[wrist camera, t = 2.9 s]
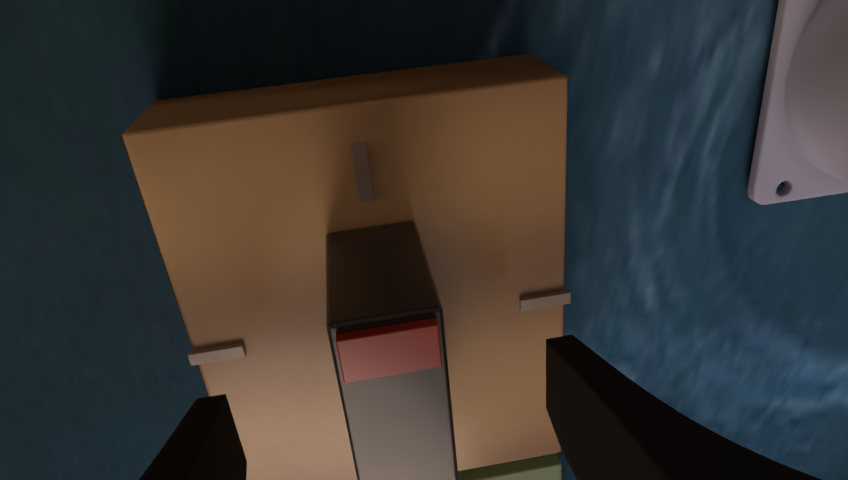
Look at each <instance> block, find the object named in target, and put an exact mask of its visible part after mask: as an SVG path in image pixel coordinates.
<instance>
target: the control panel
mask: <svg viewBox="0 0 848 480" xmlns="http://www.w3.org/2000/svg"><path fill="white" fill-rule="evenodd" d="M567 83H568V79H567V76H566V75H564V74H562V73H561V72H559V71H557V70H555V69H554V68H552V67H550V66H548V65H547V64H545V63H543V62H541V61H540V60H538V59H536V58H534V57H533V56H531V55H529V54H523V55H515V56H507V57H499V58H491V59H483V60H475V61H467V62H459V63H451V64H443V65H435V66H427V67H419V68H411V69H403V70H395V71H387V72H379V73H372V74H364V75H356V76H348V77H340V78H332V79H324V80H316V81H308V82H300V83H292V84H284V85H276V86H268V87H260V88H252V89H244V90H236V91H228V92H220V93H212V94H204V95H196V96H188V97H180V98H172V99H164V100H157V101H155V102H154V103H153V104H152V105H151V106H150V107H149V108H148V109H147V110H146V111H145V112H144V113H143V114H142V115H141V116H140V117H139V118H138V119H137V120H136V121H135V122H134V123H133V124H132V125H131V126H130V127H129V128H128V129H127V130H126V131H125V132H124V133H123V139H124V142H125V145H126V148H127V151H128V154H129V157H130V160H131V163H132V166H133V169H134V172H135V175H136V178H137V181H138V184H139V187H140V190H141V193H142V196H143V199H144V202H145V205H146V208H147V211H148V214H149V217H150V220H151V223H152V226H153V229H154V232H155V235H156V238H157V241H158V244H159V247H160V250H161V253H162V256H163V259H164V262H165V265H166V268H167V271H168V274H169V277H170V280H171V283H172V286H173V289H174V292H175V295H176V298H177V301H178V304H179V307H180V310H181V313H182V316H183V319H184V322H185V325H186V328H187V331H188V334H189V337H190V340H191V343H192V346H193V349H194V351H189V352H188V358H189V361H190V364H191V366H193V365H199V367H200V370H201V373H202V376H203V379H204V382H205V385H206V388H207V391H208V394H209V397H210V396H216V395H222V394H226V397H227V400H228V403H229V406H230V409H231V412H232V416H233V419H234V422H235V425H236V428H237V431H238V435H239V438H240V441H241V444H242V447H243V450H244V454H245V457H246V460H247V476H246V480H357V475H356V471H355V466H354V461H353V456H352V451H351V446H350V441H349V436H348V431H347V426H346V421H345V416H344V411H343V406H342V402H341V397H340V392H339V387H338V382H337V377H336V372H335V367H334V362H333V357H332V352H331V347H330V342H329V338H328V333H327V328H326V234H328V233H332V232H339V231H346V230H352V229H359V228H366V227H373V226H379V225H386V224H393V223H400V222H406V221H414V222H415V224H416V227H417V230H418V233H419V236H420V239H421V243H422V246H423V249H424V252H425V255H426V258H427V261H428V264H429V267H430V271H431V274H432V277H433V280H434V283H435V286H436V289H437V292H438V295H439V299H440V302H441V305H442V308H443V317H444V327H445V338H446V349H447V360H448V370H449V381H450V392H451V402H452V413H453V424H454V435H455V445H456V456H457V467H458V471H463V470H468V469H473V468H479V467H484V466H490V465H495V464H500V463H506V462H511V461H516V460H522V459H527V458H532V457H538V456H543V455H548V454H554V453H559V452H561V447H560V444H559V442H558V439H557V436H556V434H555V431H554V429H553V426H552V423H551V420H550V417H549V415H548V412H547V409H546V339H549V338H555V337H561V336H563V318H564V304H570V298H571V293H570V291H569V290H564V259H565V200H566V141H567Z"/></svg>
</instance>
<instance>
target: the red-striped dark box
mask: <svg viewBox="0 0 848 480" xmlns="http://www.w3.org/2000/svg"><path fill="white" fill-rule="evenodd" d="M326 328H327V333H328V338H329V342H330V347H331V352H332V357H333V362H334V367H335V372H336V377H337V382H338V387H339V392H340V397H341V402H342V406H343V411H344V416H345V421H346V426H347V431H348V436H349V441H350V446H351V451H352V456H353V461H354V466H355V471H356V475H357V480H459V477H458V467H457V456H456V445H455V435H454V424H453V413H452V402H451V392H450V381H449V370H448V360H447V349H446V338H445V327H444V317H443V308H442V305H441V302H440V299H439V295H438V292H437V289H436V286H435V283H434V280H433V277H432V274H431V271H430V267H429V264H428V261H427V258H426V255H425V252H424V249H423V246H422V243H421V239H420V236H419V233H418V230H417V227H416V224H415V222H414V221H406V222H400V223H393V224H386V225H379V226H373V227H366V228H359V229H352V230H346V231H339V232H332V233H328V234H326Z"/></svg>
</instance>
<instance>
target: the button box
mask: <svg viewBox="0 0 848 480" xmlns="http://www.w3.org/2000/svg"><path fill="white" fill-rule="evenodd" d="M561 470H562V463H561V461H560V459H559V457H558V455H557V453H554V454H548V455H543V456H538V457H532V458H527V459H522V460H516V461H511V462H506V463H500V464H495V465H490V466H484V467H479V468H473V469H468V470H463V471H458V477H459V480H561Z"/></svg>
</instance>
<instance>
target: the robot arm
mask: <svg viewBox="0 0 848 480" xmlns="http://www.w3.org/2000/svg"><path fill="white" fill-rule="evenodd" d="M781 182H784V183H783V185H782V187H781V188H780V189H779V190H777V191H776V189H777V187H778V185H779V184H780V183H781ZM747 191H748V196H749V198H750V199H752V200H753V201H755V202H757V203H758V204H760V205H767V204H774V203H780V202H787V201H793V200H800V199H806V198H813V197H819V196H826V195H832V194H839V193H845V192H848V0H779V2H778V8H777V14H776V20H775V26H774V32H773V38H772V44H771V50H770V56H769V62H768V68H767V74H766V80H765V86H764V92H763V98H762V104H761V110H760V116H759V122H758V129H757V135H756V141H755V147H754V153H753V159H752V165H751V171H750V177H749V183H748V189H747ZM546 409H547V412H548V415H549V417H550V420H551V423H552V426H553V429H554V431H555V434H556V436H557V439H558V442H559V444H560V447H561V449H562V451H563V453H564V455H565V457H566V459H567V461H568V463H569V465H570V467H571V469H572V471H573V473H574V475H575V477H576V478H577V480H821V479H819V478H816V477H813V476H811V475H808V474H805V473H803V472H800V471H798V470H795V469H792V468H790V467H788V466H785V465H783V464H780V463H778V462H775V461H773V460H771V459H769V458H766V457H764V456H762V455H760V454H758V453H755V452H753V451H751V450H749V449H747V448H745V447H742V446H740V445H738V444H736V443H734V442H732V441H730V440H728V439H726V438H724V437H722V436H720V435H718V434H717V433H715V432H713V431H711V430H709V429H707V428H706V427H704V426H702V425H700V424H698V423H696V422H695V421H693V420H691V419H689V418H688V417H686V416H684V415H683V414H681V413H679V412H678V411H676V410H675V409H673V408H672V407H670V406H668V405H667V404H665V403H664V402H662V401H661V400H659V399H657V398H656V397H654V396H653V395H651V394H650V393H649V392H647V391H646V390H644V389H643V388H641V387H640V386H639V385H637V384H636V383H634V382H633V381H632V380H630V379H629V378H627V377H626V376H625V375H623V374H622V373H621V372H619V371H618V370H617V369H615V368H614V367H613V366H611V365H610V364H609V363H608V362H606V361H605V360H604V359H602V358H601V357H600V356H599V355H597V354H596V353H595V352H593V351H592V350H591V349H590V348H588V347H587V346H586V345H585V344H583V343H582V342H581V341H579V340H578V339H577V338H575V337H574V336H573V335H567V336H561V337H555V338H549V339H546ZM246 476H247V460H246V457H245V454H244V450H243V447H242V444H241V441H240V438H239V435H238V431H237V428H236V425H235V422H234V419H233V416H232V412H231V409H230V406H229V403H228V400H227V397H226V394H222V395H216V396H210V397H205V398H199V399H197V400H196V401H195V402H194V403H193V405H192V406H191V408H190V409H189V410H188V412H187V413H186V415H185V416H184V418H183V419H182V421H181V422H180V424H179V425H178V426H177V428H176V429H175V431H174V432H173V434H172V435H171V437H170V438H169V439H168V441H167V442H166V444H165V445H164V446H163V448H162V449H161V451H160V452H159V453H158V455H157V456H156V458H155V459H154V460H153V462H152V463H151V464H150V466H149V467H148V468H147V470H146V471H145V472H144V474H143V475H142V477H141V478H140V479H139V480H246Z"/></svg>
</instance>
